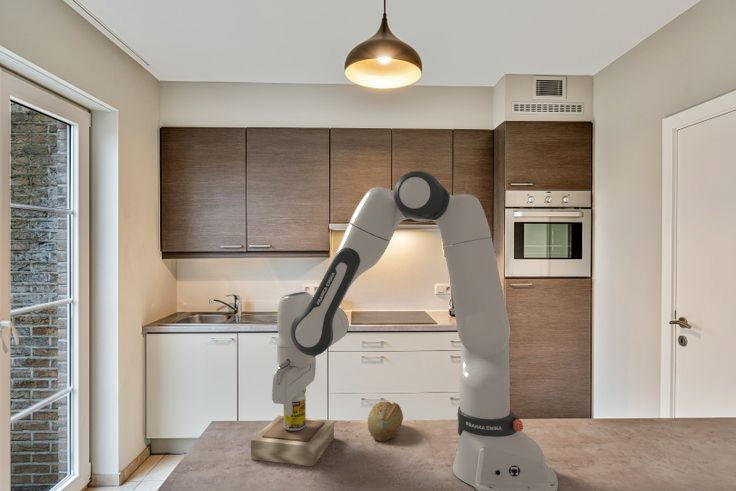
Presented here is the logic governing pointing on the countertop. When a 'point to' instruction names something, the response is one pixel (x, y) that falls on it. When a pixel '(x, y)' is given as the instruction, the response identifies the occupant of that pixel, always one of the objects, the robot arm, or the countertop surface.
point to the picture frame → (293, 442)
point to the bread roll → (384, 420)
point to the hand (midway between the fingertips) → (295, 409)
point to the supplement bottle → (296, 414)
